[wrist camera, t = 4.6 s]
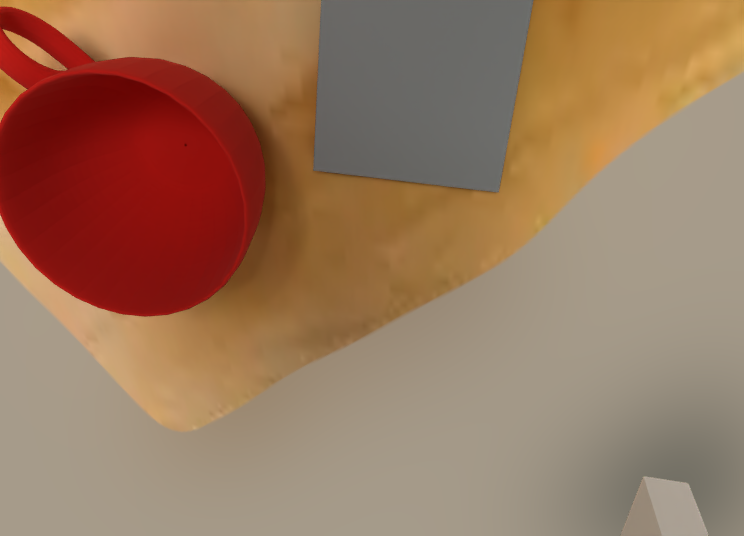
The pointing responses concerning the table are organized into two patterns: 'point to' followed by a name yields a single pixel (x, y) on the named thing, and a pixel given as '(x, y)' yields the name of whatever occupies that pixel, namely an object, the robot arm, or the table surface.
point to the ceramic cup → (125, 175)
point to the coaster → (419, 88)
